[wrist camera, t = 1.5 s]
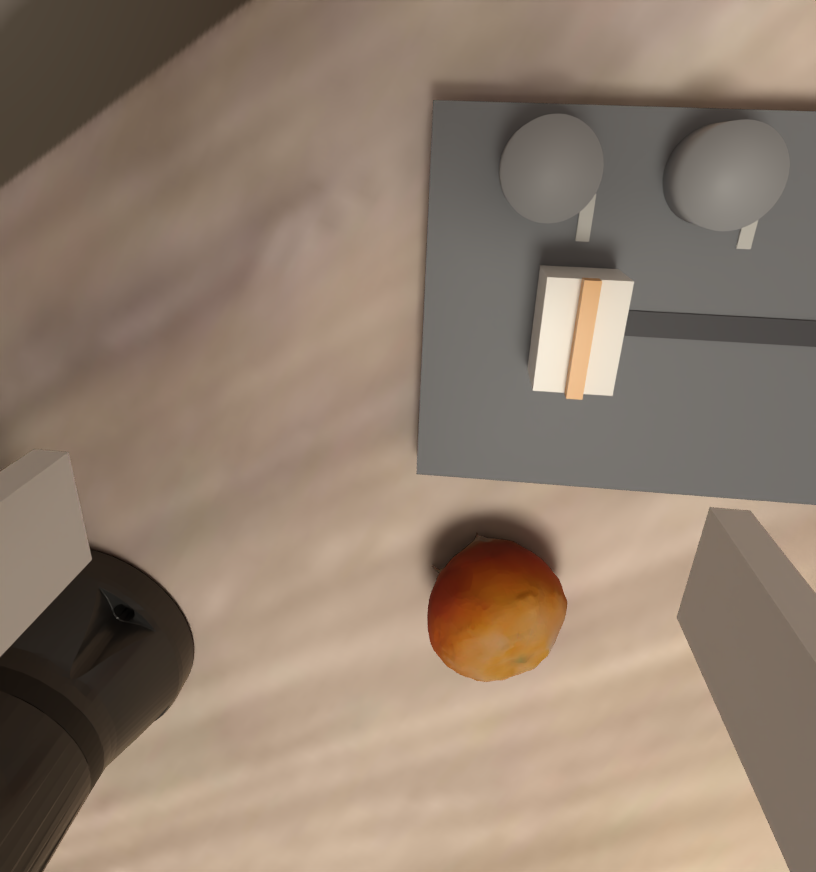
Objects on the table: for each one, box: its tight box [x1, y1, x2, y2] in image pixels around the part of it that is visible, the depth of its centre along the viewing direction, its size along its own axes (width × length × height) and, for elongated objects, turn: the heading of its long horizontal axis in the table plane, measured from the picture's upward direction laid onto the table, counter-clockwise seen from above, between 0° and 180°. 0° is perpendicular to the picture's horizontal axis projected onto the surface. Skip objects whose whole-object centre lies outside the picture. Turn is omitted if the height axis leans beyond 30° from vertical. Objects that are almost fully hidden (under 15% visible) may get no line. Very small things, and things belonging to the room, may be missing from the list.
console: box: [417, 100, 816, 505], centre depth 28 cm, size 30×18×4 cm, turn 88°
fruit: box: [428, 534, 567, 682], centre depth 35 cm, size 8×8×8 cm
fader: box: [527, 265, 634, 400], centre depth 27 cm, size 4×5×4 cm
